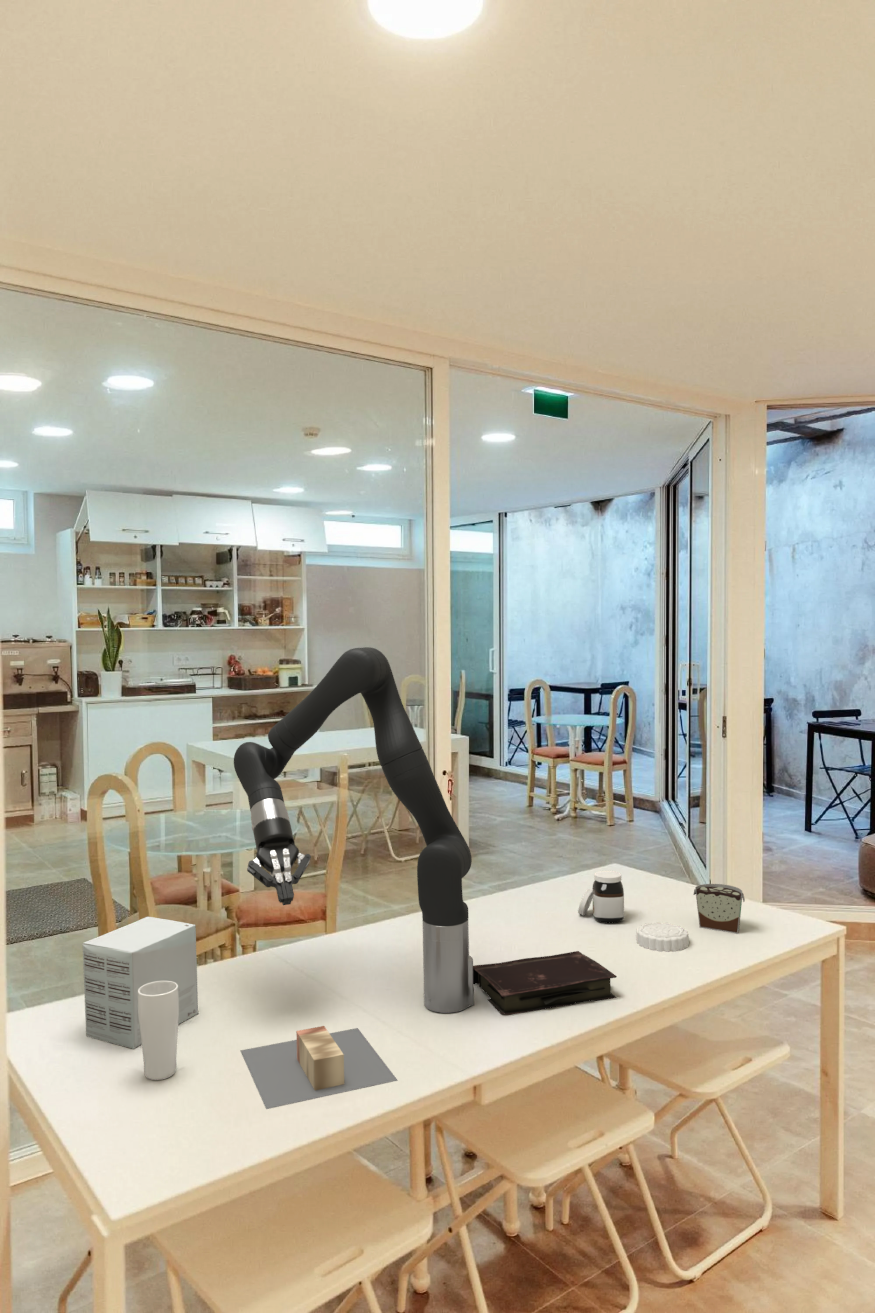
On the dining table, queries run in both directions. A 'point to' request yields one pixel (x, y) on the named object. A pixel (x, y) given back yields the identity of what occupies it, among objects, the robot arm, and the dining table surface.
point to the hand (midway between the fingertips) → (287, 902)
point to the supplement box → (136, 975)
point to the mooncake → (662, 937)
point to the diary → (543, 982)
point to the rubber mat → (289, 1083)
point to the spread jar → (605, 898)
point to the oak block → (320, 1057)
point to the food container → (719, 907)
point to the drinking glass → (159, 1027)
